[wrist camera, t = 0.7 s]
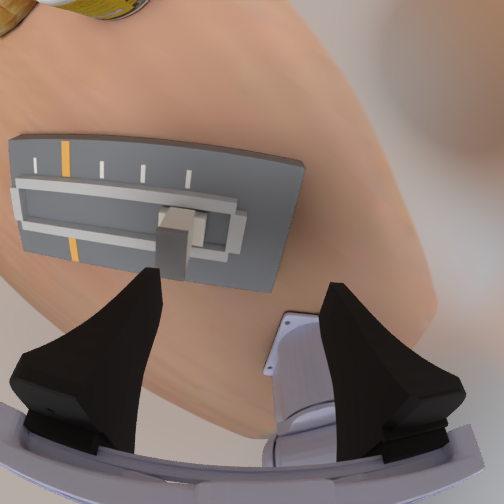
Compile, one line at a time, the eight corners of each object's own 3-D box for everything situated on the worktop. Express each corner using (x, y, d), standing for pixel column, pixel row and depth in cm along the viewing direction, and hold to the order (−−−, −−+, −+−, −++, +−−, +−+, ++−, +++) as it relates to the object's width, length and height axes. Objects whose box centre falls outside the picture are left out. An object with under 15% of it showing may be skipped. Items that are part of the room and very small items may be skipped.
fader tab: (203, 246, 20) (194, 283, 17) (160, 240, 20) (144, 274, 17) (208, 205, 19) (199, 236, 15) (162, 198, 18) (144, 228, 15)
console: (269, 280, 24) (271, 300, 22) (32, 241, 22) (19, 255, 20) (301, 161, 19) (308, 171, 17) (20, 135, 17) (2, 143, 15)
